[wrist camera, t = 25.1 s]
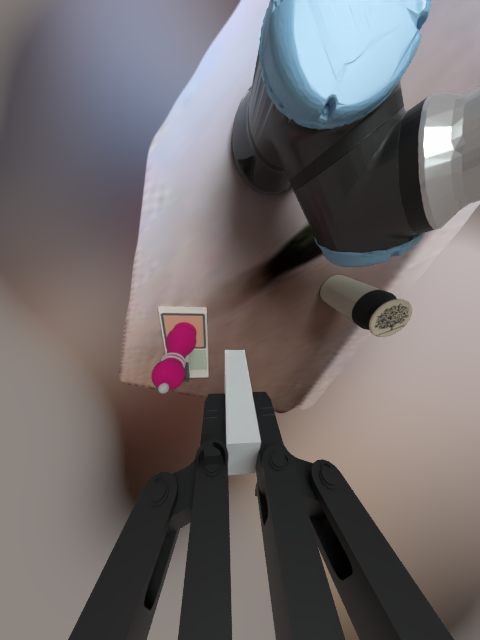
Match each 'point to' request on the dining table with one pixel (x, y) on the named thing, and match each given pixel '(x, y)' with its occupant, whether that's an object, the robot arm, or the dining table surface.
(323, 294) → the travel mug
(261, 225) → the dining table surface
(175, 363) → the pepper mill
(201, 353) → the picture board
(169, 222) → the dining table surface
